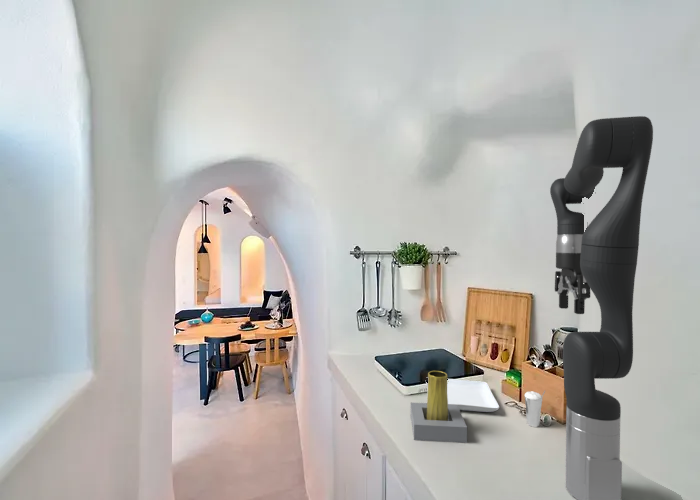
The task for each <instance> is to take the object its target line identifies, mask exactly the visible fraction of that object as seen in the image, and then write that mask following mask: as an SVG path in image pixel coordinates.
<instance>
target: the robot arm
mask: <svg viewBox="0 0 700 500" xmlns="http://www.w3.org/2000/svg"><path fill="white" fill-rule="evenodd" d="M578 138H579V139H578V141H577V144H576V145H577V146H576V149H575V151H574V155H573V156H574V157H573V159H572V164H571V168H570V169H569V170H568V172H567V173H566V175H565V177H563V178H562V177H561V178H557V179H555V180H554V181H553V182H552V183H551V185H550V188H549V189H550V190H549V191H550V197H551V200H552V201H551V202H552V203H553V207H554V210H555V214H556V221H557V223H556V224H557V225H556V227H557V229H556V230H557V231H556V234H557V235H556V241H555V242H556V243H555V268H556V269H560V270H556V271H555V272H554V273H555V274H554V292H555V293H556V292H557V294H558V308H559V309H564V310H565V309H566V310H567V309H568V308H569V293H572V295H573V298H574V300H573V301H574V302H573V303H574V304H573V305H574V306H573V307H574V308H573V310H574V311H573V313H574V314H576V315H584V314H585V307H586V306H585V303H586V300H587V299H590V298H591V292H592V293H593V295H594V296H595V299H596V300H597V302H598V305H599V309H600V317H601V318H600V319H601V320H600V321H601V322H600V330H599V331H573V332H572V331H571V332H569V333H568V334H566V336H565V338H564V339H563V340H564V341H563V345H562V363H563V364H562V365H563V387H564V393H565V397H566V398H565V399H566V412H565V413H566V414H565V415H566V416H565V417H566V422H565V423H566V424H565V427H566V428H565V488H566V491H568V493H569V494H570V496H572V497H573V498H575V499H576V500H622V482H623V481H622V477H623V474H622V473H623V471H622V470H623V461H622V460H621V459H620V458H621V451H620V450H621V412H622V411H621V410H622V409H621V408H622V407H621V403H620V402H619V400H618V399H617V398H615V397H614V396H613V395H612V394H611V395H610V394H609V393H607V392H604V391H601V390H599V389H596V383H595V381H596V380H595V379H600V380H601V379H606V380H607V379H615V380H616V379H623V378H625V377H626V376H627V375H628V374H629V373H630V371H631V370H632V369H631V368H632V366H633V359H634V331H633V329H634V327H633V325H634V324H633V308H634V307H633V306H634V291H635V279H636V273H637V266H638V256H639V247H640V246H639V245H640V231H641V230H640V227H641V216H642V204H643V199H644V192H645V186H646V180H647V175H648V170H649V165H650V159H651V156H652V155H651V153H652V148H653V142H654V141H653V140H654V139H653V138H654V127H653V123H652V120H651V119H650V118H649V117H647V116H643V115H641V116H639V115H638V116H624V117H623V116H622V117H609V118H608V117H607V118H598V119H597V118H596V119H594V120H591V121H589V122H588V123H587V124H586V125H585V126H584V127H583V129H582V131H581V133H580V136H579V137H578ZM615 168H616V169H617V168H619V169H620V168H621V169H622V173H621V176H620V180H619V182H618V185H617V187H616V190H615V191H614V193H613V195H612V196H611V198H610V199H609V201H607V203H606V204H605V205H604V207H603V208H602V209H601V210H600V211H599V212H598V213H597V214H596V216H595V217H594V218H593V219H592V221H590V222H589V223H588V224H587V228H586V230H585V232H584V215H583V214H582V213H583V212H579V211H573V210H570V209H569V208H568V206H567V205H573V204H574V205H575V204H577V205H579V204H581V202H582V198H584V197H586V198H588V199H589V198H590V197H591V196H592V194H593V192H594V189H595V187H597V186H598V185H599V184H600V183H601V181H602V179H603V177H604V173H605V171H604V169H615ZM583 283H584V284H583Z"/></svg>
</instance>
